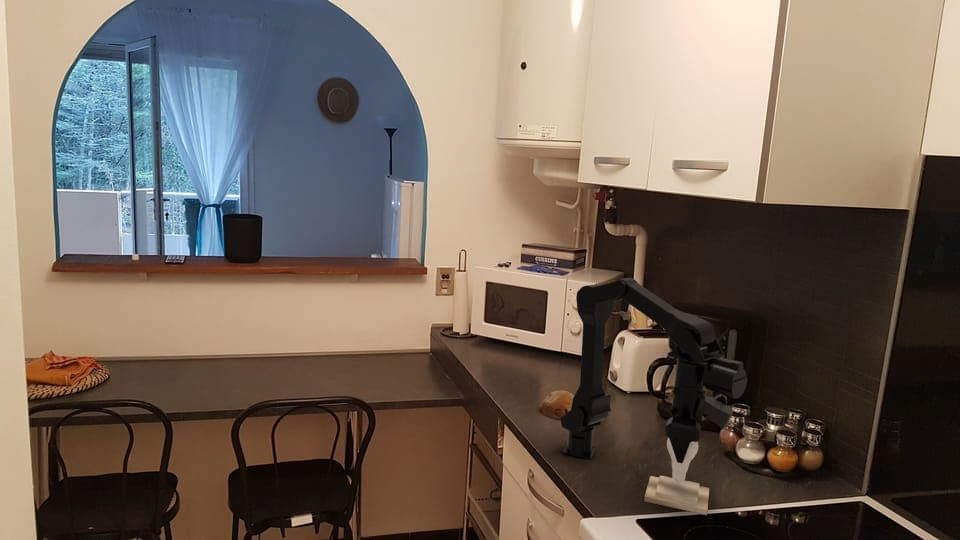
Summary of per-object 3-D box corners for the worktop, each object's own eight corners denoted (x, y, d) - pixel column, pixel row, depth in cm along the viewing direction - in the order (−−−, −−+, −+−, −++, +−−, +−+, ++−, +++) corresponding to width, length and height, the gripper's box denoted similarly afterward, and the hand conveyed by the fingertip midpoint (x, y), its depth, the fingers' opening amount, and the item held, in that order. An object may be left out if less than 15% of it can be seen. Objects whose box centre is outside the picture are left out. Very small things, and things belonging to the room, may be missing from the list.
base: (650, 480, 145) (650, 471, 144) (708, 492, 141) (709, 483, 140) (644, 501, 135) (645, 491, 135) (706, 515, 131) (707, 505, 131)
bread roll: (571, 420, 186) (568, 391, 188) (588, 418, 176) (584, 387, 178) (538, 423, 182) (535, 393, 184) (553, 420, 173) (550, 389, 175)
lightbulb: (687, 475, 141) (693, 425, 139) (698, 489, 135) (704, 437, 133) (658, 474, 140) (664, 424, 139) (667, 488, 134) (674, 435, 133)
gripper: (732, 405, 123) (722, 485, 125) (732, 376, 140) (723, 447, 143) (669, 394, 126) (660, 472, 129) (677, 367, 144) (669, 436, 146)
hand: (681, 456), depth 137 cm, fingers closed on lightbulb, 6 cm apart
